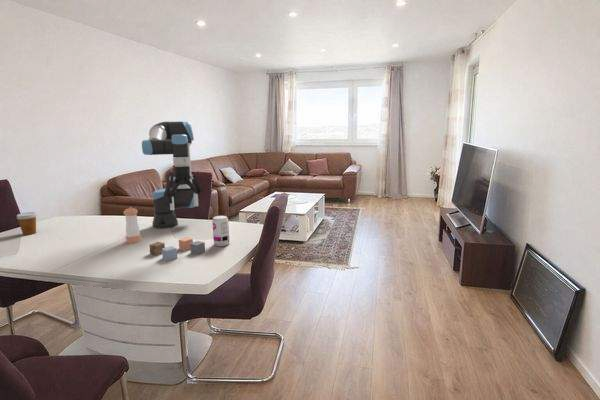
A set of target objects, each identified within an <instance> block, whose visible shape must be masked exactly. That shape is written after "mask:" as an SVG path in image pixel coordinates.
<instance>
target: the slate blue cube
mask: <svg viewBox="0 0 600 400" xmlns="http://www.w3.org/2000/svg"><path fill="white" fill-rule="evenodd" d="M177 252H178V250H177V247H174V246H173V245H171V246H167V247H165V248H162V254H161V255H162V259H163V260H165V261H167V262H168V261H172V260H176V259H178V253H177Z"/></svg>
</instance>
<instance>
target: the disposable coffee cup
mask: <svg viewBox="0 0 600 400" xmlns="http://www.w3.org/2000/svg"><path fill="white" fill-rule="evenodd" d="M16 220H17V221H18V225H19V227H20V230H21V232H22V233H21V234H22V236H29V235H31V236H32V235H35V234H37V214H36V212H33V211H32V212H22V213H19V214H16Z"/></svg>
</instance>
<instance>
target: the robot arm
mask: <svg viewBox="0 0 600 400" xmlns="http://www.w3.org/2000/svg"><path fill="white" fill-rule="evenodd" d="M148 135H149V138H148V139H143V140H141V150H142V154H143V155H145V156H152V155H153V156H158V155H172V161H173V162H172V163H173V164H172V165H173V166H174V167H173V174H174V176H168V181H167V185H166V187H165V188H161V189H157V190H155V191H154V192H153V193H152V202H153V211H154V212H153V213H154V216H153V218H152V219H153V220H152V228H154V229H170V228H174V227H176V226H178V225H179V221H178V218H177V216H176V213H175V209H177V210H178V209H190V208H195V207H199V200H200V194H201V193H202V192H203V190H202V187H201V186H200V184H199V181H198V180H197V176H196V174H192V162H191V151H190V150H191V149H190V146H191V145H192V144H193V141H194V140H195V139H194V134H193V128H192V124H191V123H190V121H162V122H158V123H156V124H154V125H152V127H150V129H149V132H148ZM174 181H175V182H174Z"/></svg>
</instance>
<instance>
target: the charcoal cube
mask: <svg viewBox="0 0 600 400" xmlns="http://www.w3.org/2000/svg"><path fill="white" fill-rule="evenodd" d="M189 250H190V254H193V255H197V256H199V255H201V254H203V253H205V252H206V244H205V242H203V241H200V240H196V241H193V243H190V249H189Z"/></svg>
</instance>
